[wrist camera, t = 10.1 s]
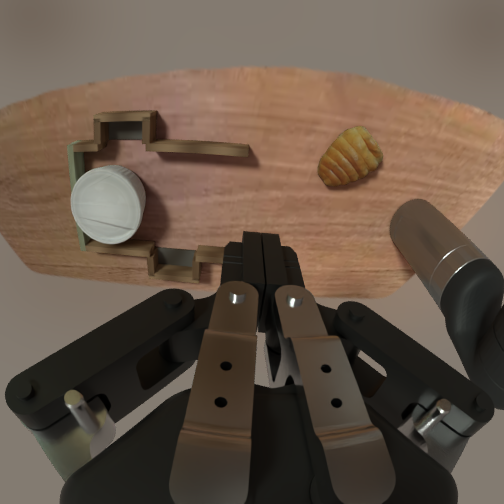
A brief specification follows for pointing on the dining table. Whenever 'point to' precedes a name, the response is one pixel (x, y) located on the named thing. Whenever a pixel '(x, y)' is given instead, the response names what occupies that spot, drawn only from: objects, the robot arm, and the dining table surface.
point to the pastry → (349, 157)
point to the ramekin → (108, 203)
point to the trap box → (144, 127)
